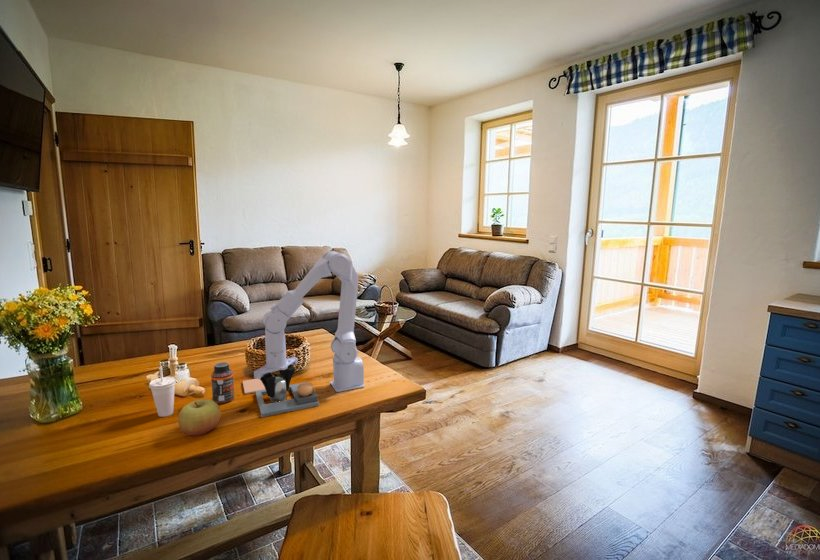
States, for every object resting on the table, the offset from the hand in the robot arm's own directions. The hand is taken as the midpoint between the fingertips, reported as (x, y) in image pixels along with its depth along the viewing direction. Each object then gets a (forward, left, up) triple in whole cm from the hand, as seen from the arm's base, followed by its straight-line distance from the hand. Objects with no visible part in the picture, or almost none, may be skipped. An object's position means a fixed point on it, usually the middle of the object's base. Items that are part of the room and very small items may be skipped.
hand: (278, 393), depth 124 cm
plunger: (-7, +6, 0) cm, 9 cm away
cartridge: (0, 0, -2) cm, 2 cm away
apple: (+21, +10, -2) cm, 23 cm away
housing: (-2, +2, -2) cm, 3 cm away
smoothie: (+30, -4, -2) cm, 30 cm away
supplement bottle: (+15, -6, -2) cm, 16 cm away
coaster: (+4, -12, -2) cm, 13 cm away
